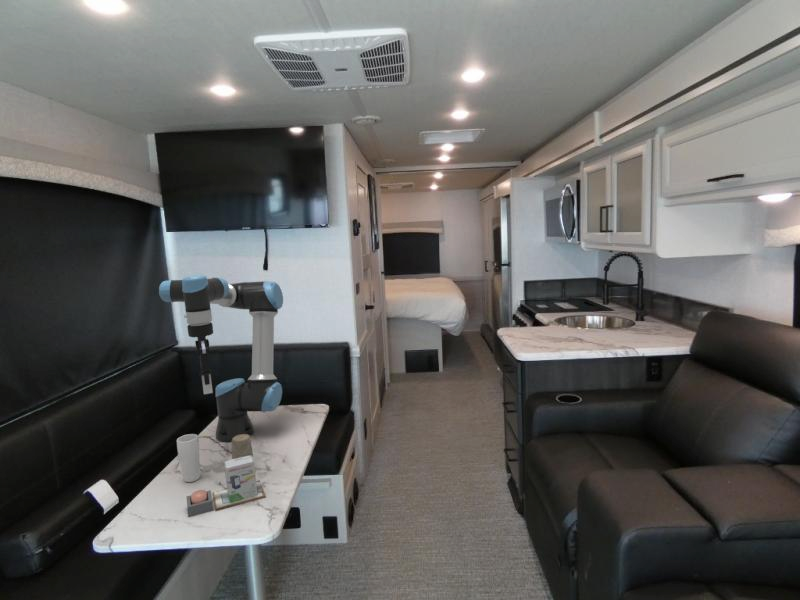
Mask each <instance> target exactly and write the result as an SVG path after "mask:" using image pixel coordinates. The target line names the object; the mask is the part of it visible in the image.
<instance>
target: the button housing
mask: <svg viewBox="0 0 800 600" xmlns="http://www.w3.org/2000/svg"><path fill="white" fill-rule="evenodd" d="M205 491H206V490H205ZM206 493H207V501H204V502H200V503H196V504H193V505H192V501H191V494H190V495H187V496H186V509H187V510H186V511H187V516H188V518H190V517H193V516H197V515H201V514H205V513H207V512H211V511H214V505H213V504H214V501H213V495H212V491H211V490H207V491H206Z"/></svg>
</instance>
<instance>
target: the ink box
mask: <svg viewBox="0 0 800 600" xmlns="http://www.w3.org/2000/svg"><path fill="white" fill-rule="evenodd" d="M255 467H256V466H255V461H254V456H253V457H252V456H245V457H241V458H237V459H232V458H231V459H229V460H226V461H224V472H225V474H224V475H225V480H226V483H225V484H226V489H227V492H228V498H229V501H230V503H231V502H235V501H238V500H242V499H245V498H248V497H252V496H255V495H258V493H257V485H256V481H257V479H256V469H255Z"/></svg>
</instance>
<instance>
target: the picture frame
mask: <svg viewBox="0 0 800 600" xmlns="http://www.w3.org/2000/svg"><path fill="white" fill-rule="evenodd" d="M256 485H257V493H258V495H255V496H252V497H248V498H245V499H242V500H238V501H235V502H231V503H230V501H229V498H228V492H227V488H226V489H222V490H217V491H213V492H211V495H212V501H213V504H214V505H213V507H214V510H215V512H219V511H221V510H224V509H228V508H231V507H235V506H238V505H239V506H240V505H243V504H246V503H250V502H253V501H257V500H261V499H264V498H267V496H266V493H265V490H264V487H263V484H262V482H261V480H260V479H259V480H256Z"/></svg>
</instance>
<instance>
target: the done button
mask: <svg viewBox="0 0 800 600" xmlns="http://www.w3.org/2000/svg"><path fill="white" fill-rule="evenodd" d="M190 495H191V501H192V505H193V504H196V503H200V502H204V501H207V493H206V490H204V489H200V490H196V491H193V493H191V494H190Z"/></svg>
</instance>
